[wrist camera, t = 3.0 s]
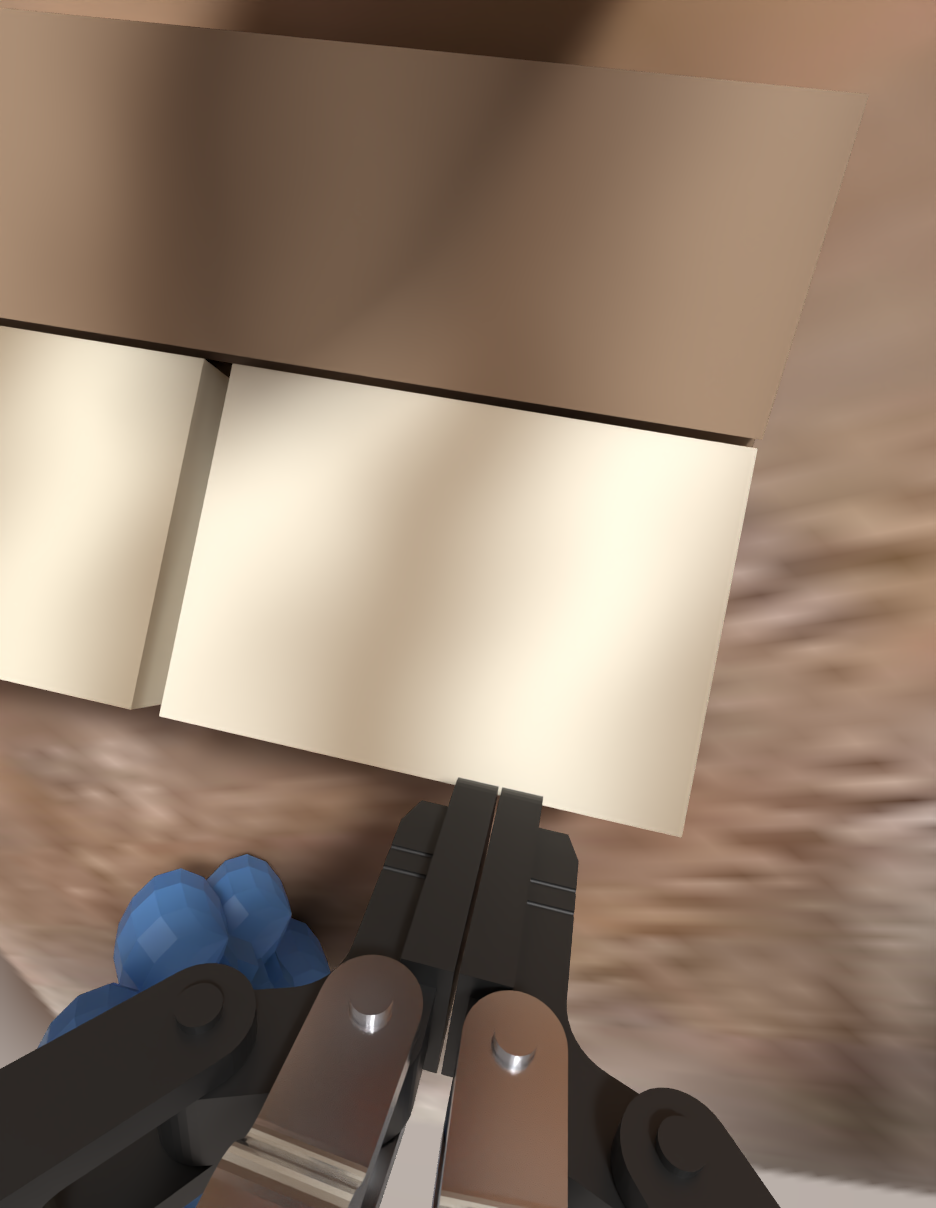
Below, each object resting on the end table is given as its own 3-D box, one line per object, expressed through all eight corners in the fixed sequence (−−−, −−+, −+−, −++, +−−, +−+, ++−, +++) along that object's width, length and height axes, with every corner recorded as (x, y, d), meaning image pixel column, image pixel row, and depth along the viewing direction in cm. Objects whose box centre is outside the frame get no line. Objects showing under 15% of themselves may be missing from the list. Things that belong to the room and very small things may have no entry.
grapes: (474, 1045, 25) (353, 1652, 14) (299, 1040, 27) (79, 1567, 16) (359, 771, 20) (53, 1372, 10) (158, 791, 22) (-277, 1303, 12)
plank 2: (740, 464, 14) (757, 448, 13) (671, 820, 14) (682, 837, 13) (257, 384, 15) (232, 363, 14) (189, 709, 15) (159, 716, 14)
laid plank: (848, 105, 11) (869, 94, 10) (748, 439, 14) (756, 456, 13) (-268, -8, 14) (-341, -27, 13) (-181, 289, 17) (-236, 294, 16)
